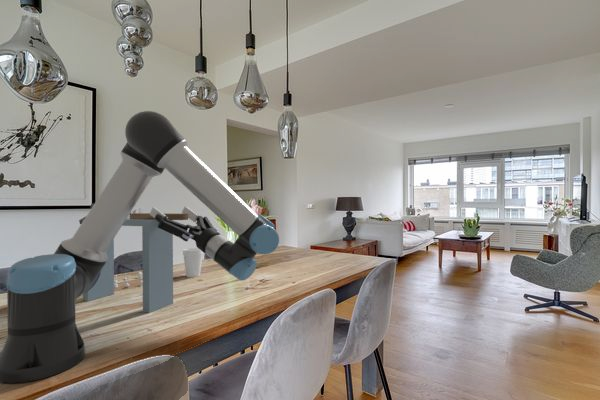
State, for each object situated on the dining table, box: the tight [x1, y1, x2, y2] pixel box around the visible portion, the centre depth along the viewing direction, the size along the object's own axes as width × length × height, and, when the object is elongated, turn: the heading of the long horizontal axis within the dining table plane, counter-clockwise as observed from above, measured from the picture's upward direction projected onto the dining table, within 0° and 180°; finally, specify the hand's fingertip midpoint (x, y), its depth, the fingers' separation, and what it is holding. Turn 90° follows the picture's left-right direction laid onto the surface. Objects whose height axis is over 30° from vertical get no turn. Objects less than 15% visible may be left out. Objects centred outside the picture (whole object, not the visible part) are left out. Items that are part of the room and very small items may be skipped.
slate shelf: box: [82, 217, 174, 313], centre depth 114 cm, size 10×34×30 cm, turn 66°
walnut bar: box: [129, 212, 189, 221], centre depth 108 cm, size 3×24×2 cm, turn 66°
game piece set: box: [114, 271, 143, 289], centre depth 142 cm, size 19×20×4 cm
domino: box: [78, 216, 86, 225], centre depth 121 cm, size 5×2×10 cm
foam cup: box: [182, 247, 204, 278], centre depth 154 cm, size 10×9×13 cm
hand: (168, 209), depth 106 cm, fingers open, 13 cm apart
